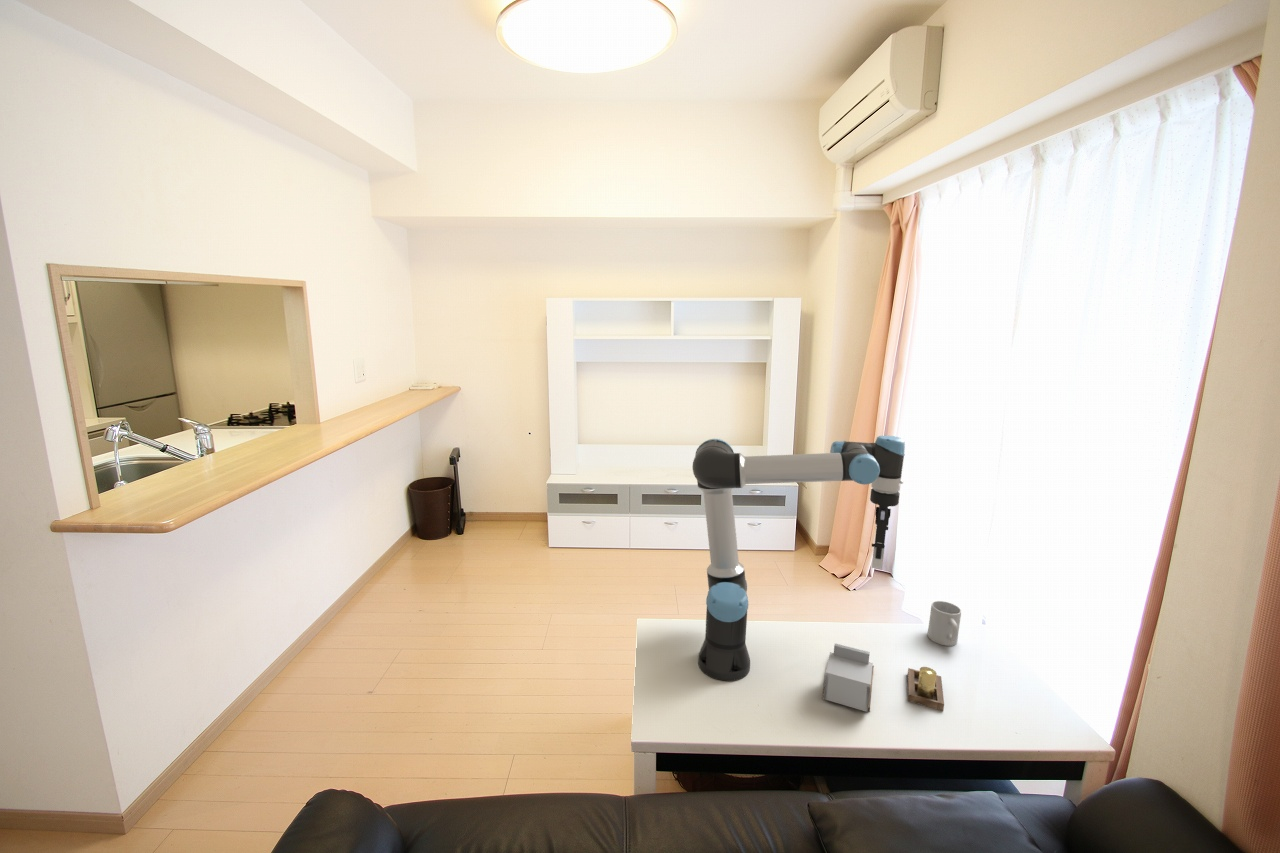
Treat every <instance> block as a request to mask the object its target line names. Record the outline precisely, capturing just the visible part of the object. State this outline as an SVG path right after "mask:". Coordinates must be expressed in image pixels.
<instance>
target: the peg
mask: <svg viewBox="0 0 1280 853" xmlns="http://www.w3.org/2000/svg"><path fill="white" fill-rule="evenodd" d="M919 671H920V672H919V680H918V688H917V696H921V697H925V698H928V699H932V700H933V697H934V689H935V682H936V675H937V672H936V670H935V669H934V668H931V667H927V666H922V667H921V666H920V668H919Z"/></svg>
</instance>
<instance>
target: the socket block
mask: <svg viewBox="0 0 1280 853" xmlns="http://www.w3.org/2000/svg"><path fill="white" fill-rule="evenodd" d="M919 672H920V670H917V669H913V668H909V667H908V668H907V701H908V702H909V703H912V704H913V703H914V704H917V705H920V706H925V707H928V708H931V709H935V710H938V711H942V712H944V708H945V700H944V688H943V681H942V676H940V675H937V674H936V682H935V689H934V697H933V700H932V699H928V698H925V697H921V696H917V688H918V680H919Z"/></svg>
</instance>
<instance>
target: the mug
mask: <svg viewBox="0 0 1280 853" xmlns="http://www.w3.org/2000/svg"><path fill="white" fill-rule="evenodd" d="M961 617H962V609H961V608H960V607H958V605H956V604H954V603H950V602H948V601H943V600H937V601H932V603H931V607H930V614H929V620H928V628H927V636H928V638H929V640H931V641H932V642H934V643H935V644H939V645H940V646H945V647H953V646H955V645H957V643H958V638H959V630H960V624H961Z"/></svg>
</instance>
